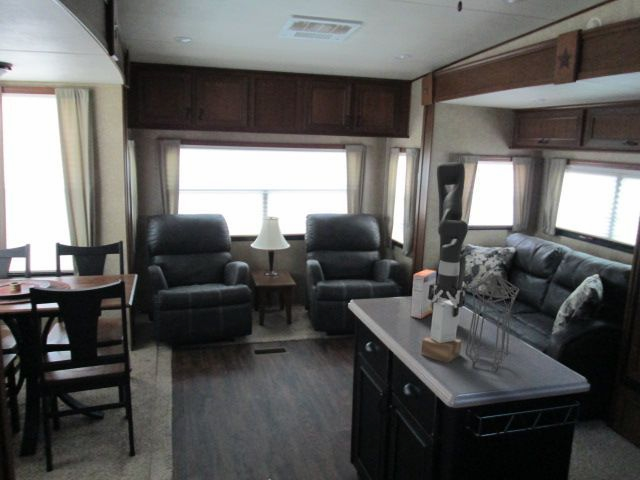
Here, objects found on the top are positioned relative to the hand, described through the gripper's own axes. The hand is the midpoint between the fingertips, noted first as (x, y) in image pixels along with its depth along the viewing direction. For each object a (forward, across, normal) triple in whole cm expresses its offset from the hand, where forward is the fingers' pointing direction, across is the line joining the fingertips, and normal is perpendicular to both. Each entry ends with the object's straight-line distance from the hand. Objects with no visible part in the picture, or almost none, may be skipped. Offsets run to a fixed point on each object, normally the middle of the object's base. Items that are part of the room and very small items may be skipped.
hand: (444, 313), depth 201 cm
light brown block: (+17, 0, 0) cm, 17 cm away
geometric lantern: (+17, -17, -2) cm, 24 cm away
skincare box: (+11, 0, 0) cm, 11 cm away
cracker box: (+17, +30, -39) cm, 52 cm away
